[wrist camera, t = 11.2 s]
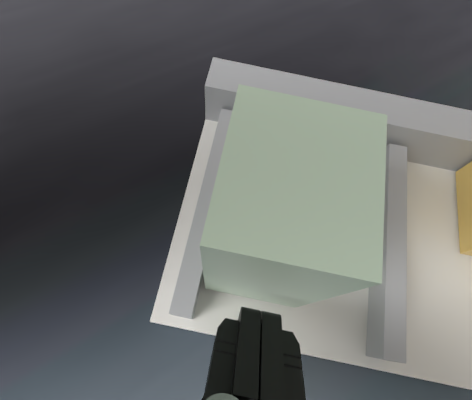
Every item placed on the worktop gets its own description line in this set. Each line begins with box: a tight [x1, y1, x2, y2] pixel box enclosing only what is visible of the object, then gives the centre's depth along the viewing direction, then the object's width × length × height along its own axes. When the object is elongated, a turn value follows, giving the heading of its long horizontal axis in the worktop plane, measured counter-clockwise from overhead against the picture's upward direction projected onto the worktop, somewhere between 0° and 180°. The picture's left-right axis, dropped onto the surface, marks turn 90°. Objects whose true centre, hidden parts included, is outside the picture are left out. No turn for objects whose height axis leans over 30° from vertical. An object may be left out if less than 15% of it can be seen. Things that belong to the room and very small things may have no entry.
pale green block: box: [200, 84, 387, 308], centre depth 13 cm, size 5×4×9 cm
